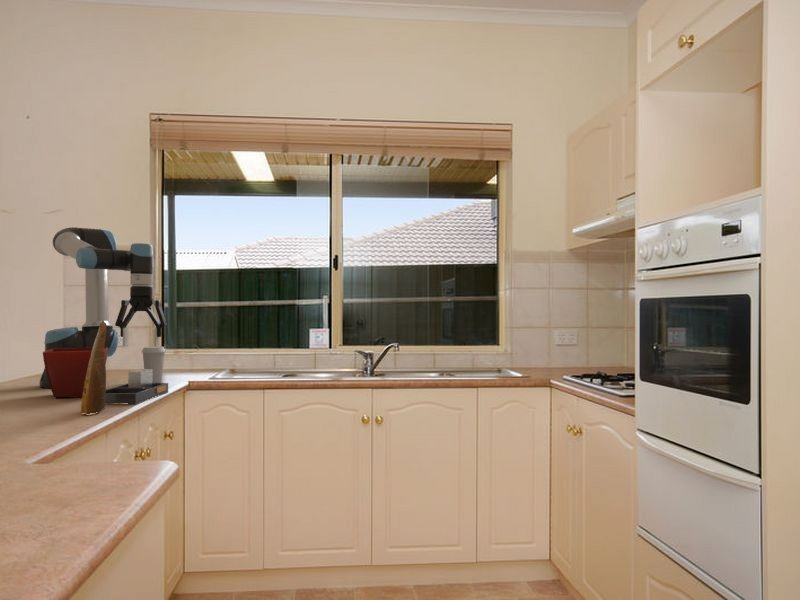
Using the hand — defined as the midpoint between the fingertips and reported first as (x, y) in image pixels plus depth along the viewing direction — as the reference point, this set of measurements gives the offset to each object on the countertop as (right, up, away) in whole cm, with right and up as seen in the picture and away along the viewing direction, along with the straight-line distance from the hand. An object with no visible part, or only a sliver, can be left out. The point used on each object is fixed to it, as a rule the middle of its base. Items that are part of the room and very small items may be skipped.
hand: (141, 346), depth 225 cm
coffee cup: (-10, -18, +35) cm, 41 cm away
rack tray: (0, -18, -7) cm, 19 cm away
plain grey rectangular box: (0, -17, 0) cm, 17 cm away
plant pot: (-23, -18, -2) cm, 29 cm away
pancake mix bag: (0, -18, -34) cm, 39 cm away
